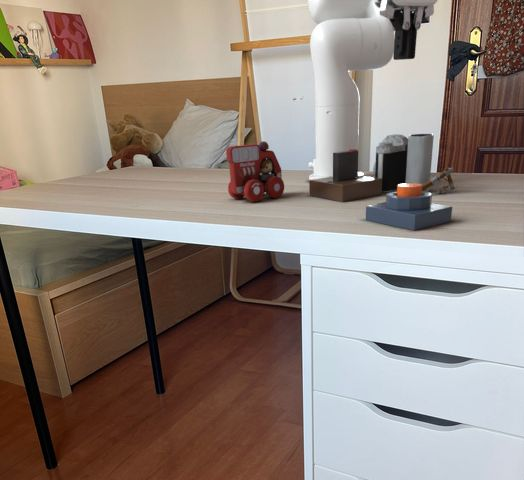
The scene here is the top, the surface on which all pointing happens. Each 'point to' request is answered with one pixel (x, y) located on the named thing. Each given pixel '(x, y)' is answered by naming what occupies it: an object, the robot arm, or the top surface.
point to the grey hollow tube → (419, 158)
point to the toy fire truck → (254, 172)
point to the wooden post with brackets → (438, 178)
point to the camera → (391, 161)
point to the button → (409, 189)
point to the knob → (345, 165)
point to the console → (345, 188)
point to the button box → (409, 211)
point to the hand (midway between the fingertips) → (403, 59)
